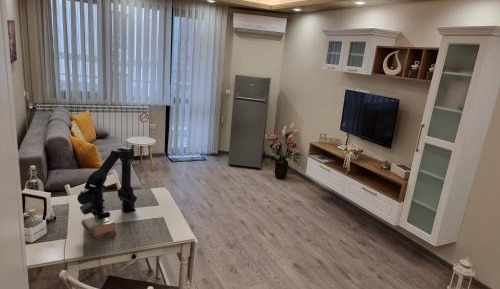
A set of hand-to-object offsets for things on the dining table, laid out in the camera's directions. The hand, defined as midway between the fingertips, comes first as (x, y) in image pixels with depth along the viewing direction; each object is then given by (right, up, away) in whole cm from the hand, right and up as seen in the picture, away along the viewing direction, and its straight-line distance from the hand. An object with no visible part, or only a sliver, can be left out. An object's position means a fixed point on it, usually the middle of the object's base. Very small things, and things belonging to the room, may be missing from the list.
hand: (98, 223), depth 188 cm
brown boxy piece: (0, -3, 0) cm, 3 cm away
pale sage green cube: (+3, -2, -3) cm, 5 cm away
